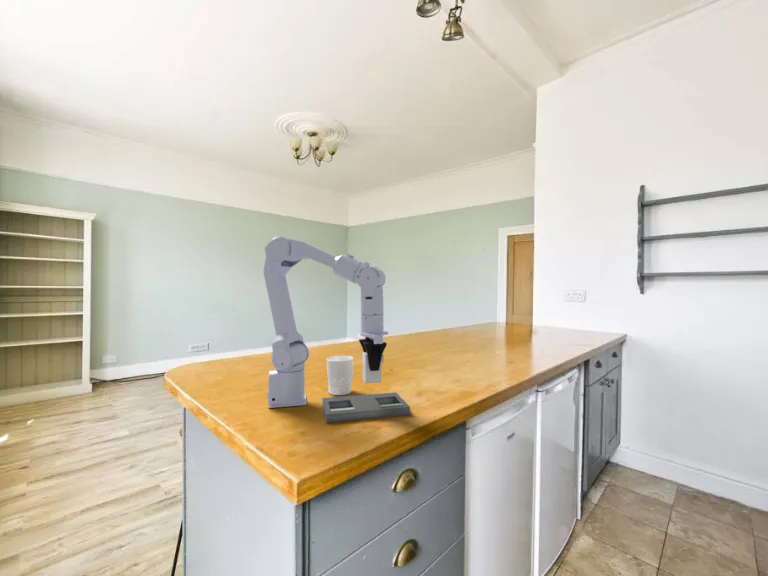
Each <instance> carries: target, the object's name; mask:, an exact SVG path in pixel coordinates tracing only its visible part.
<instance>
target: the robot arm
mask: <svg viewBox="0 0 768 576" xmlns="http://www.w3.org/2000/svg"><path fill="white" fill-rule="evenodd" d="M264 250H265V251H264V252H265V260H264V266H263V276H264V283H265V286H266V290H267V296H268V300H269V305H270V310H271V315H272V320H273V321H272V322H273V326H274V331H275V338H274V340H272V341H273V342H272V343H271V347H272V348H271V349H272V352H271V358H270V359H271V362H272V363H271V364H272V365H273V367H274V368H275V369H273V370H269V372H268V392H267V399H268V405H267V406H268V408H269V409H272V408H284V407H286V408H287V407H299V406H306V405H307V395H306V394H305V391H306V390H305V385H306V384H305V382H306V381H305V379H306V377H305V372H306V371H305V365H306V364H305V363H306V362H307V361H308V359H309V356H310V351H309V348H308V345H306V343H305V342H304V338H303V335H301V334H300V333H299V332H298V330H297V325H296V321H295V315H294V311H293V306H292V301H291V295H290V292H289V286H288V282H287V281H288V280H287V277H286V275H287V274H288V273H289V271H290V270H291V269H292V268H293V267H295V266H296V265H298V264H299V263H300V262H301V261H302V260H308V259H310V260H312V261H315V262H318V263H320V264H323V265H325V266H327V267H329V268H332V270H333V272H334V275H336V276H338V277H340V278H342V279H345V280H347V281H349V282H351V283H353V284H356V285H358V286H359V287H360V332H359V335H360V336H361V337H363V338H359V339H358V342H359V344H360V346H361V348H362V352H367V356H368V363H369V368H370V371H379V368H380V363H381V358H382V355H384V352H385V349H386V348H387V346H388V345H387V342H386V341H384V336H386V335H389V331H387V330H385V329H384V287H383V286H384V284H385V283H386V275H385V272H384V271H383V270H382V269H380V268H379V267H377V266H370V262H368V261H365V262H363V261H362V260H361V261H360V260H358V259H356V258H354V255H353V254H350V253H348V254H345V253H343V254H341V255H338V256H337V255H334V254H333V253H330V252H328V251H327V250H326V251H325V250H324V249H322V248H320V247H318V246H316V245H314V244H312V243H307V242H305V241H299V240H296V239H291V238H286V237H284V236H281V235H276V236H273V237H271V238H270V239H269V242H268V243H267V244H266V245H265V247H264ZM381 364H382V363H381Z"/></svg>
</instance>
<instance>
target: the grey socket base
mask: <svg viewBox="0 0 768 576" xmlns="http://www.w3.org/2000/svg"><path fill="white" fill-rule="evenodd" d="M321 406H322V410H323V414H324V419H325V423H326V424H328V423H329V424H330V423H339V422H340V423H342V422H350V421H363V420H372V419H381V418H382V419H384V418H394V417H404V416H411V407H410V405H409V404H408V403H407V402H406V401H405V400H404V399H403V398H402V397H401V396H400V395H399V394H398V393H397V392H387V393H386V392H383V393H370V394H360V395H359V394H357V395H346V396H345V395H342V396H335V397H333V396H331V397H322V404H321Z"/></svg>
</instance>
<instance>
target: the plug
mask: <svg viewBox="0 0 768 576" xmlns="http://www.w3.org/2000/svg"><path fill="white" fill-rule="evenodd" d="M361 354H362V355H361V357H362V362H361V363H362V366H361V367H362V382H364V384H377V383H378V384H379V383H382V363H383V364H384V361H385V358H384V354H382V358H381V363H380V368H379V371H370V368H369V363H368V356H367V352H363V351H362V353H361Z"/></svg>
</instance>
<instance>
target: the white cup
mask: <svg viewBox="0 0 768 576" xmlns="http://www.w3.org/2000/svg"><path fill="white" fill-rule="evenodd" d="M326 373H327V374H326V375H327V385H328V393H329V394H330V395H333V396H345V395H346V396H347V395H349V394H350V393H352V390H353V388H352V385H353V376H354V374H353V373H354V357H353V356H349V355H334V356H333V355H332V356H329V357H327V358H326Z"/></svg>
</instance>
